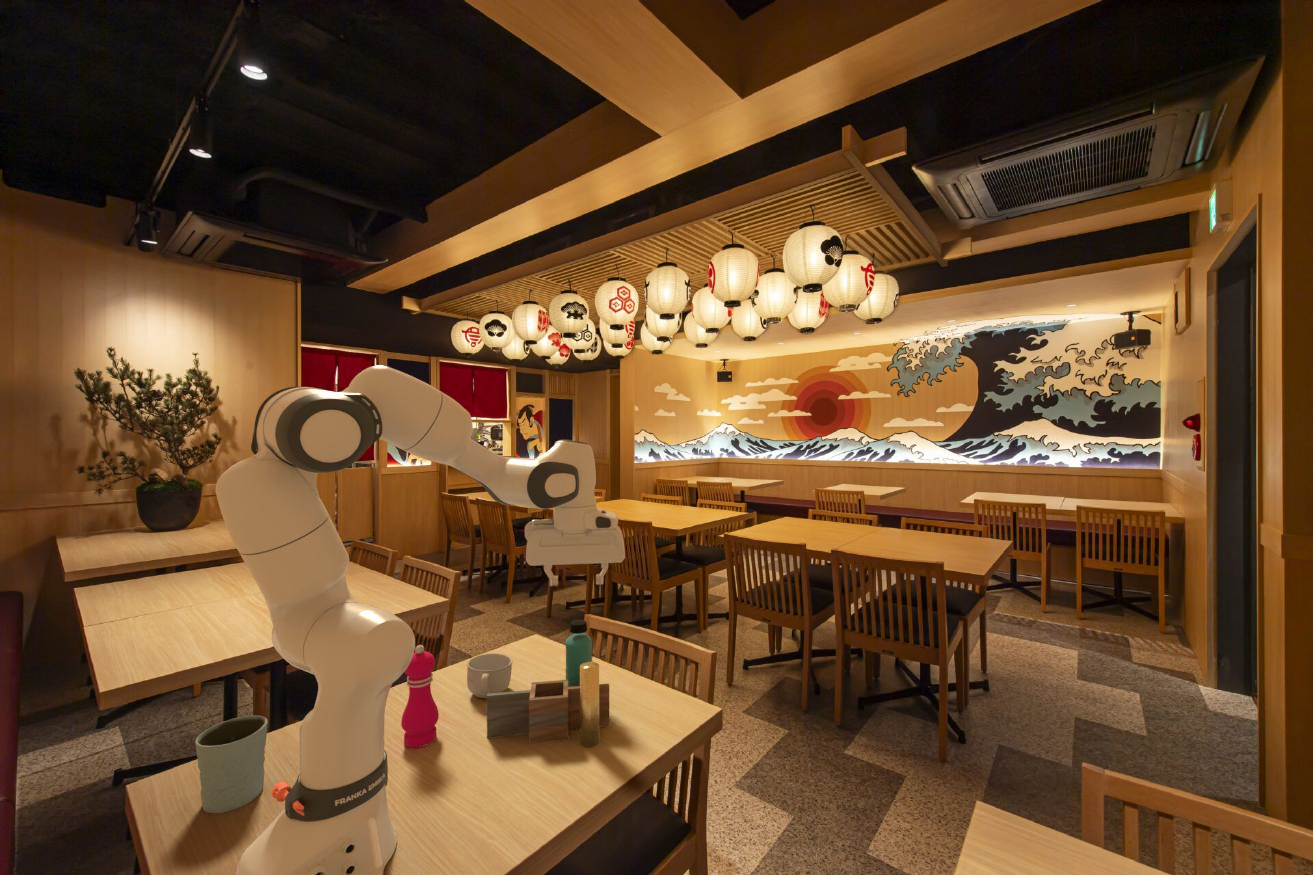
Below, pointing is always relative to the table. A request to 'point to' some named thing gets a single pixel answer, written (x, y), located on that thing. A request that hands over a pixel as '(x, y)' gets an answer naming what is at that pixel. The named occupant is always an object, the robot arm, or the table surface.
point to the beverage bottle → (577, 651)
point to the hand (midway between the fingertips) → (577, 584)
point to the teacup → (488, 674)
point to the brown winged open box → (541, 711)
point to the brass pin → (589, 704)
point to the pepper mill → (420, 701)
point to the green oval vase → (231, 763)
